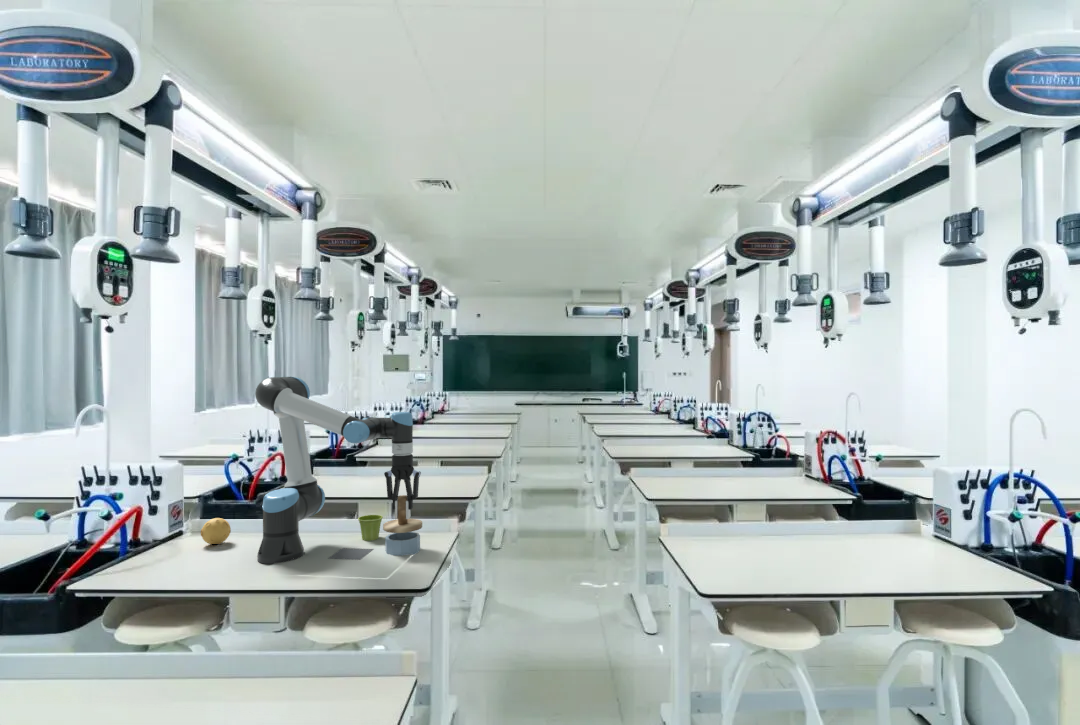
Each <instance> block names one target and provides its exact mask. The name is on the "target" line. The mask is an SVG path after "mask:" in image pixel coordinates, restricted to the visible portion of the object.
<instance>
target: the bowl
mask: <svg viewBox="0 0 1080 725" xmlns="http://www.w3.org/2000/svg"><path fill="white" fill-rule="evenodd" d="M384 540H385V544H384V546H385V547H384V548H385V553H386V554H387V555H391V556H405V555H406V556H407V555H411V556H412V555H416V554H418V553H419V552H420V551H421V535H420V534H419V533H418V532H416V531H412V532H406V533H389V534H387V535H386V536H385V537H384Z"/></svg>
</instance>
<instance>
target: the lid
mask: <svg viewBox="0 0 1080 725" xmlns="http://www.w3.org/2000/svg"><path fill="white" fill-rule="evenodd" d="M397 500H398V519H392V520H389V521H386V522H384V523H383V525H382V530H383V531H384V532H386V533H389V534H392V533H406V532H416V531H418V530H421V529H422V528H423V521H422V520H420V519H416V518H409V519H406V501H407V500H408V497H407V494H406V495H405V494H402V495H398V499H397Z"/></svg>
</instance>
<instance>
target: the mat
mask: <svg viewBox="0 0 1080 725" xmlns="http://www.w3.org/2000/svg"><path fill="white" fill-rule="evenodd" d="M373 550H375V549H374V548H361V547H360V548H357V547H356V548H355V547H354V548H352V547H343V548H341V549H339V550H338V551H337V552H335V553H334V554H332V555H331V556H329V557H327V559H329V560H355V561H356V560H357V561H358V560H359V561H361V560H362V559H363V558H364V557H366V556H367V555H369V553H371V552H373Z"/></svg>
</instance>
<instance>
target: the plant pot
mask: <svg viewBox="0 0 1080 725" xmlns="http://www.w3.org/2000/svg"><path fill="white" fill-rule="evenodd" d="M382 519H383V515H381V514H367V515H362V516H359V517H358V518H357V520H358V522H359V526H360V533H361V540H362V541H366V542H367V541H368V542H369V541H370V542H371V541H376V540H378V539H379V538H380V531H381V530H380V529H381V524H382Z"/></svg>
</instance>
